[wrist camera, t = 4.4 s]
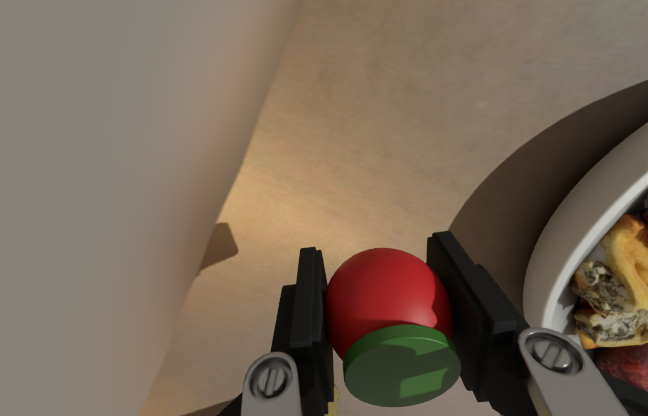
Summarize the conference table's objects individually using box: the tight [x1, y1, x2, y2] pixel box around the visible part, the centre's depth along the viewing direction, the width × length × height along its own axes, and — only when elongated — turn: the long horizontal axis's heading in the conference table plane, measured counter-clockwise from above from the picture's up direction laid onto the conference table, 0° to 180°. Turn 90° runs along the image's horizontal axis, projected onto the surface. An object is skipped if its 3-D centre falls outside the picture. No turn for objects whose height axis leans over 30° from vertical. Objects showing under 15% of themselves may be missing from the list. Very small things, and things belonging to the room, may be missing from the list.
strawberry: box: [324, 248, 462, 407], centre depth 9 cm, size 4×4×4 cm
